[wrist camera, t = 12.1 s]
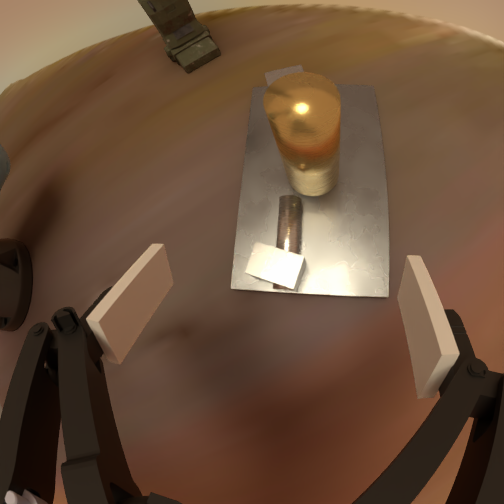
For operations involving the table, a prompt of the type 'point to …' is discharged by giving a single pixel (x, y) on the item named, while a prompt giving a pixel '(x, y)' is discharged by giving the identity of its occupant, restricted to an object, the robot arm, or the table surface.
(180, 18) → the mechanical leg
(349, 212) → the bed plate
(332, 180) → the orange glossy cylinder
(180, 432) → the table surface
